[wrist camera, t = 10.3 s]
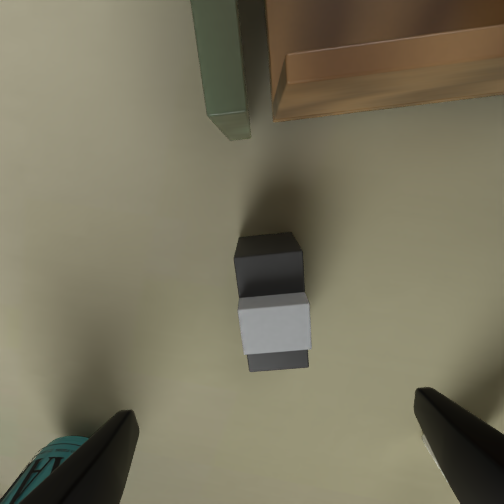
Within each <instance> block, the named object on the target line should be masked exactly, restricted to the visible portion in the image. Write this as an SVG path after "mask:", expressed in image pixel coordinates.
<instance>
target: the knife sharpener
mask: <svg viewBox="0 0 504 504" xmlns="http://www.w3.org/2000/svg"><path fill="white" fill-rule="evenodd" d="M234 264H235V271H236V279H237V286H238V293H239V303H238V317H239V324H240V331H241V337H242V344H243V351H244V355H247V358H248V365H249V371H250V372H256V371H269V370H282V369H295V368H308V367H309V362H308V349H311V348H312V345H311V324H310V304H309V301H308V299H307V296H306V294H305V285H304V266H303V251H302V249H301V248H300V246H299V244H298V242H297V241H296V239H295V237H294V235H293V234H292V232H287V233H277V234H268V235H258V236H248V237H239V239H238V243H237V247H236V251H235V255H234Z"/></svg>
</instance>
